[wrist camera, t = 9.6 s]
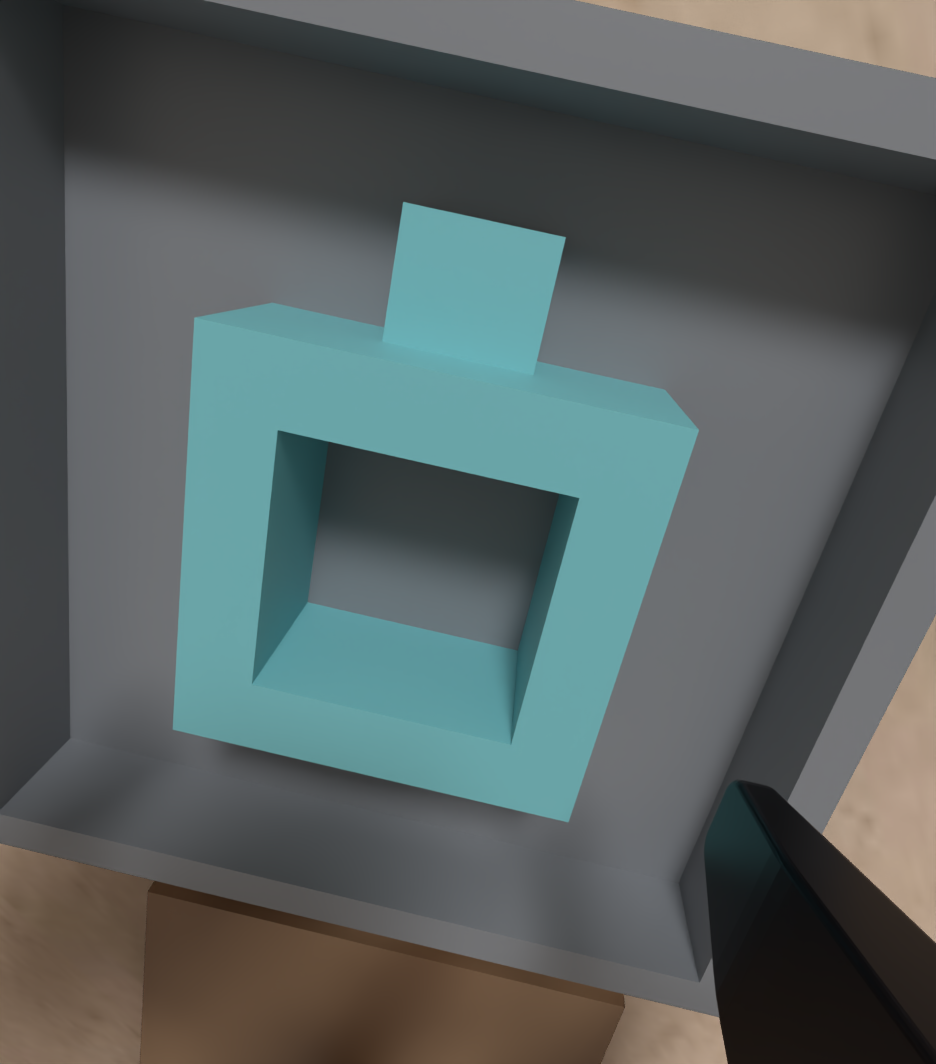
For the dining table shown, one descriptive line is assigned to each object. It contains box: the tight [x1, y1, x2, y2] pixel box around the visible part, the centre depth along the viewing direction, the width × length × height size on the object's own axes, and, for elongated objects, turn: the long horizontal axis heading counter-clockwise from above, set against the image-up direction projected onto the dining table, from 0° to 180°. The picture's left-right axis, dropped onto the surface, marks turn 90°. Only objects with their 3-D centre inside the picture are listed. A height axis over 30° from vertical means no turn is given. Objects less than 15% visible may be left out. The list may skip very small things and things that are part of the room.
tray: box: [0, 0, 936, 1017], centre depth 13 cm, size 16×16×3 cm
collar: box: [173, 202, 699, 822], centre depth 12 cm, size 7×9×3 cm
